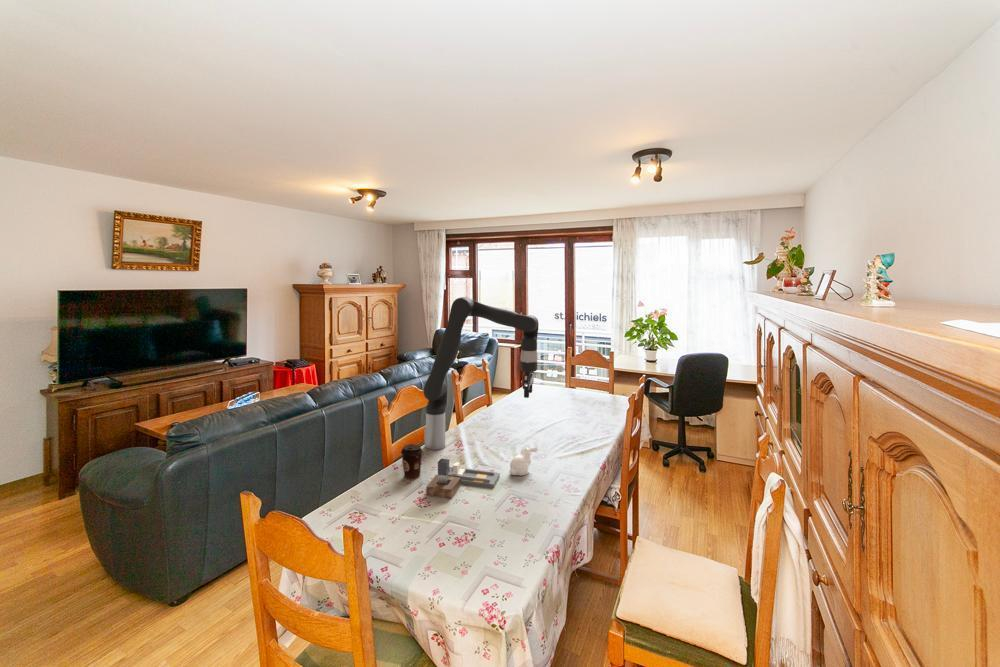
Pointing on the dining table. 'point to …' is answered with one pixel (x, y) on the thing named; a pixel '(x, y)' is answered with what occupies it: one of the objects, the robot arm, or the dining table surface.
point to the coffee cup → (411, 461)
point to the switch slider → (458, 469)
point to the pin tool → (443, 471)
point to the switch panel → (477, 477)
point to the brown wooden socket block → (443, 487)
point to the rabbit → (521, 462)
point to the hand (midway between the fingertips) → (528, 395)
